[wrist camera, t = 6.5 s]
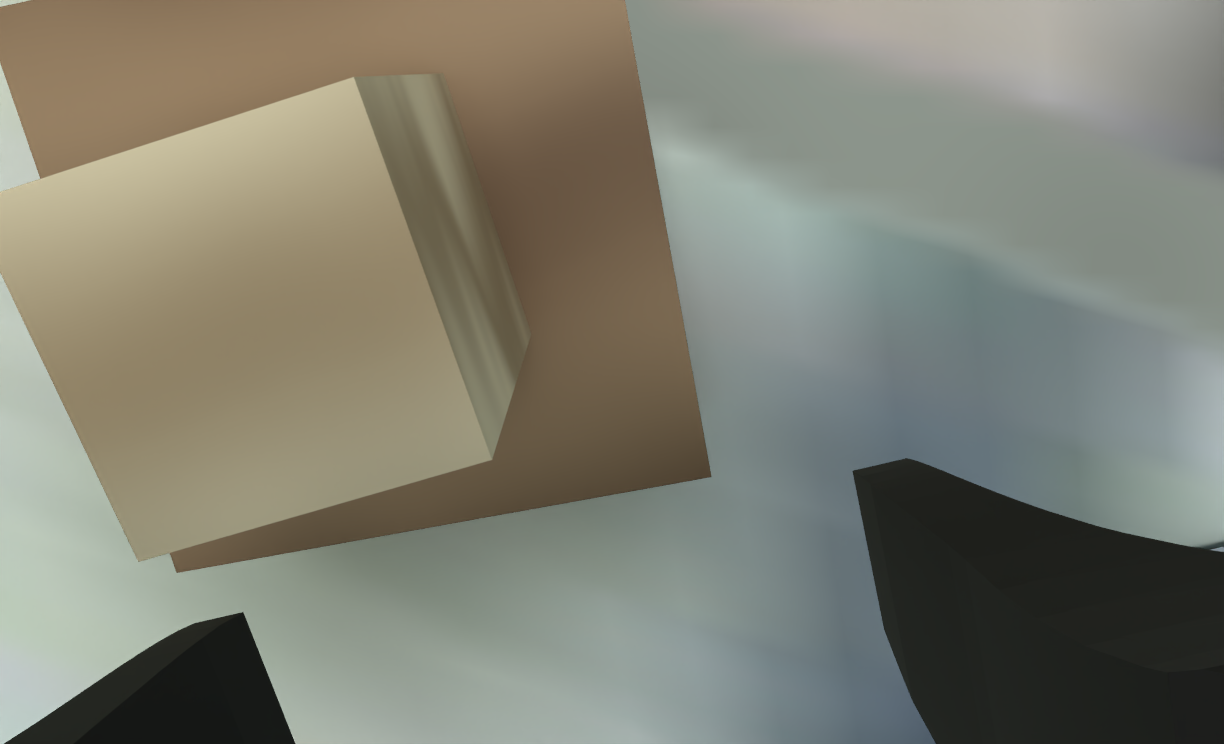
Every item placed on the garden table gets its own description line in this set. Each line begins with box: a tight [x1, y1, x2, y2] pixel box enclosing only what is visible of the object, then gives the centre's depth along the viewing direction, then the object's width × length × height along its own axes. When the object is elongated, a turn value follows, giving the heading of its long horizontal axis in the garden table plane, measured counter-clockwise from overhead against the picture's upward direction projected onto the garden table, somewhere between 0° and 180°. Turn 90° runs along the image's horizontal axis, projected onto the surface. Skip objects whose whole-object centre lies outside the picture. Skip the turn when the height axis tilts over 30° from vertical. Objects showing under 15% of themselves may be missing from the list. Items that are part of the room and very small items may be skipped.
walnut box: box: [0, 0, 711, 573], centre depth 19 cm, size 10×10×4 cm
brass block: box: [0, 73, 531, 562], centre depth 15 cm, size 4×4×6 cm
